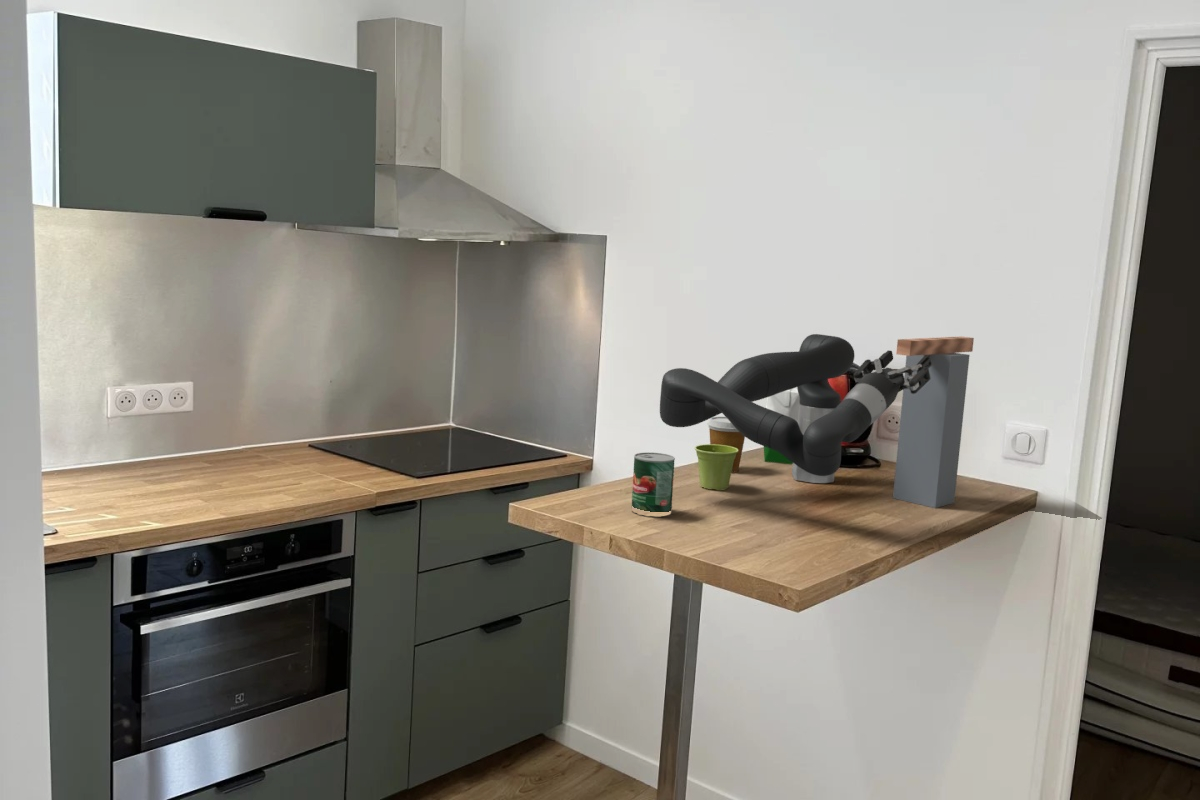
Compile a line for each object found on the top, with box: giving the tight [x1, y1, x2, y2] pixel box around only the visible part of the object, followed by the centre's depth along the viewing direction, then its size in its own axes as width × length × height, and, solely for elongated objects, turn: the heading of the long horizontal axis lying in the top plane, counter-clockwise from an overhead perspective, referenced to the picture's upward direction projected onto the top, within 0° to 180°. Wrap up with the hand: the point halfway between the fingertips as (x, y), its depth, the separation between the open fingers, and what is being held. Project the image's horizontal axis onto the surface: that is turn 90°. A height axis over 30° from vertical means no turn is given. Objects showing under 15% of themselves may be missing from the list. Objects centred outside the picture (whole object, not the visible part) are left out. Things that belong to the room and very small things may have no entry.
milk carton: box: [763, 387, 800, 465], centre depth 257 cm, size 9×9×20 cm
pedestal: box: [892, 352, 971, 509], centre depth 220 cm, size 8×10×32 cm
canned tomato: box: [631, 451, 676, 512], centre depth 201 cm, size 8×8×11 cm
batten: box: [896, 336, 974, 356], centre depth 217 cm, size 26×3×3 cm, turn 133°
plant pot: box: [694, 443, 738, 491], centre depth 224 cm, size 9×9×9 cm
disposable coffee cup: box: [707, 416, 746, 474], centre depth 243 cm, size 10×10×12 cm
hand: (909, 356), depth 210 cm, fingers open, 8 cm apart
